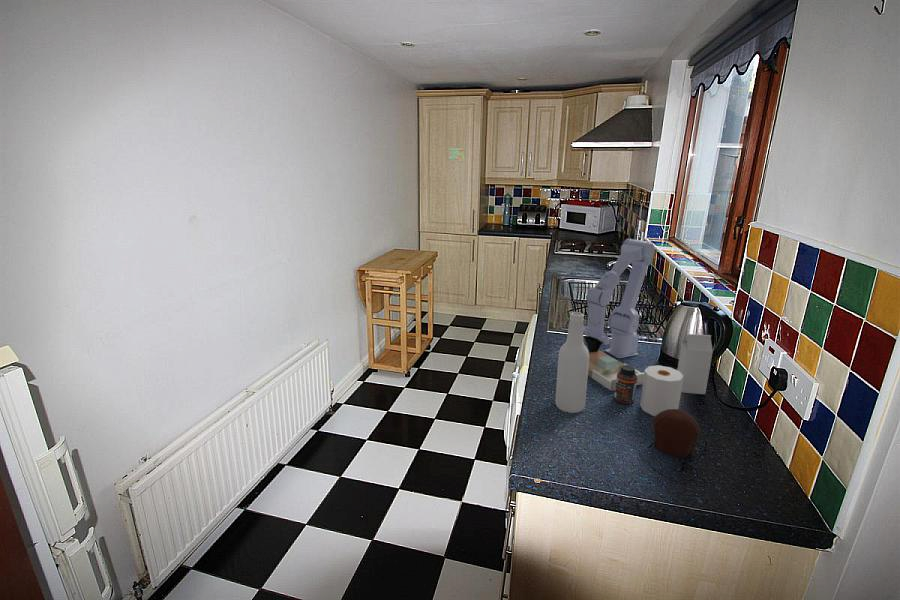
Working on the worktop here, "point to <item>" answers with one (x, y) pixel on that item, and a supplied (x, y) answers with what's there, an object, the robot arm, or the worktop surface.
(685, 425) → the muffin
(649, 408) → the toilet paper
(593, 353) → the salmon pink cube
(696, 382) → the milk carton
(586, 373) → the alcohol
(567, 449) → the worktop surface
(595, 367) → the beech board
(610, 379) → the tray
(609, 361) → the sage green cube
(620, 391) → the supplement bottle
